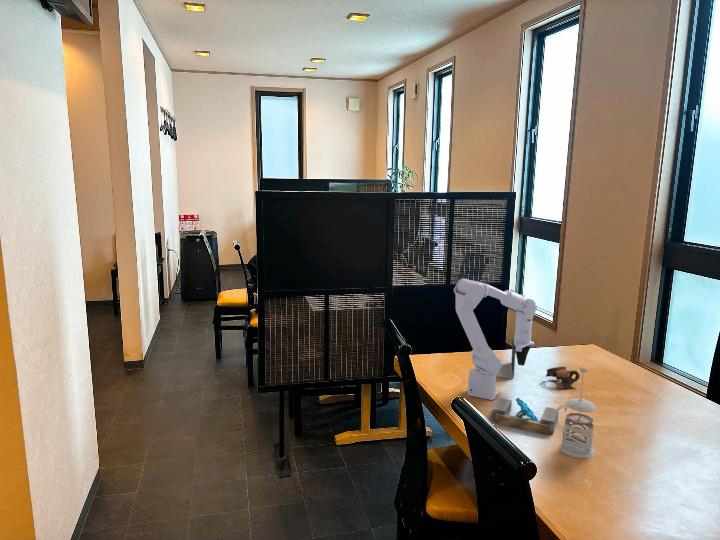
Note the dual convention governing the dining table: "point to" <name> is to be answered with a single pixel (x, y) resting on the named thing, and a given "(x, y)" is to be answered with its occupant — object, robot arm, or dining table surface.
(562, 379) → the pottery mug
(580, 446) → the french press
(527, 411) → the blue knobby piece
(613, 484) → the dining table surface
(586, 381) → the dining table surface
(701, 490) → the dining table surface
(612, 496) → the dining table surface
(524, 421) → the cradle
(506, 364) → the laptop
